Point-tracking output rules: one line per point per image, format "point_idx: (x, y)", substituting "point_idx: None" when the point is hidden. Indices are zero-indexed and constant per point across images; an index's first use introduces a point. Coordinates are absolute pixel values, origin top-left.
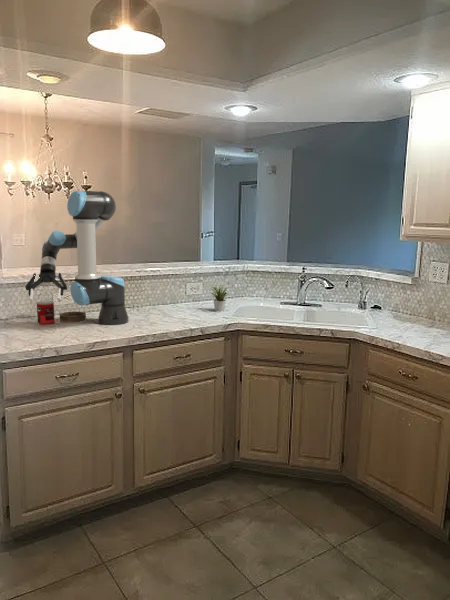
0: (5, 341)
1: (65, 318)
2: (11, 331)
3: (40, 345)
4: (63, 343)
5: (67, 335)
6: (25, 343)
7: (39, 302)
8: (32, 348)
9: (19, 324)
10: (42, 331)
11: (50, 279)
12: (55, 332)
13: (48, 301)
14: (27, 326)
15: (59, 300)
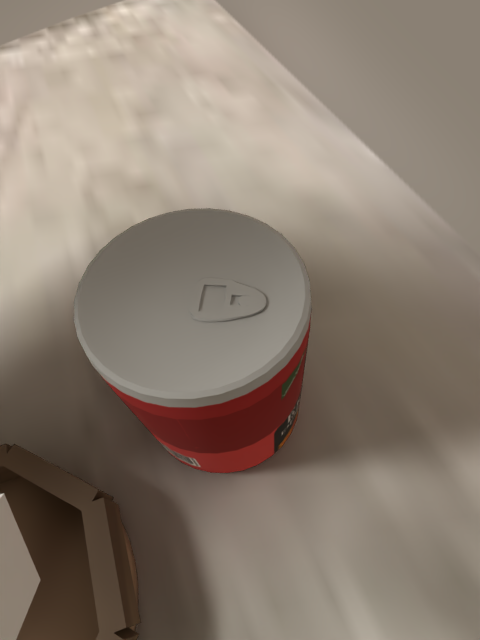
0: (268, 52)
1: (39, 457)
2: (353, 173)
3: (100, 41)
4: (12, 70)
5: (5, 158)
6: (169, 48)
7: (272, 282)
8: (119, 17)
9: (434, 340)
10: (165, 200)
11: None
12: (81, 194)
13: (167, 366)
14: (328, 292)
15: (13, 549)
